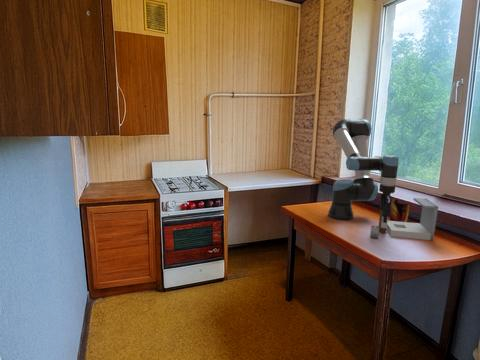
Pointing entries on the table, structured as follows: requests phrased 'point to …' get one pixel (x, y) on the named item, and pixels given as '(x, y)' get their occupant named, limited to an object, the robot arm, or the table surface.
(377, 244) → the table surface
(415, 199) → the socket block
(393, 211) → the mug
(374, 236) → the cylinder
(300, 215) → the table surface
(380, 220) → the walnut dowel
